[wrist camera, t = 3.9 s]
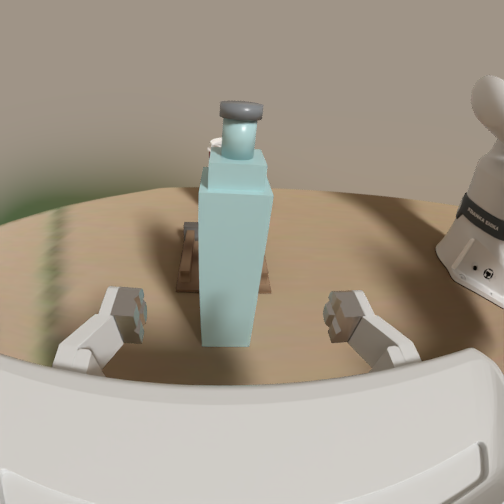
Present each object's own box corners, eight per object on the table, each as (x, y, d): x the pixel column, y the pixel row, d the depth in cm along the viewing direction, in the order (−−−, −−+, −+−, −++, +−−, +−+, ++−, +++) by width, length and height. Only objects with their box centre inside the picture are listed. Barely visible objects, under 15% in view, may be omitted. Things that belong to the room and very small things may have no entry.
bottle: (249, 346, 30) (285, 112, 16) (202, 346, 30) (201, 106, 16) (245, 312, 35) (272, 102, 20) (203, 311, 34) (207, 98, 20)
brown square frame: (270, 293, 38) (274, 276, 36) (176, 291, 36) (174, 274, 34) (260, 240, 47) (262, 224, 46) (185, 237, 46) (184, 222, 44)
